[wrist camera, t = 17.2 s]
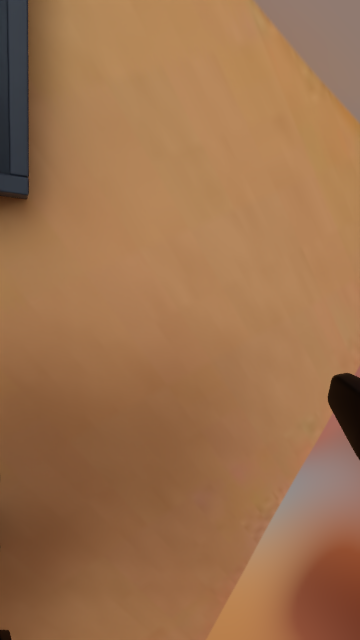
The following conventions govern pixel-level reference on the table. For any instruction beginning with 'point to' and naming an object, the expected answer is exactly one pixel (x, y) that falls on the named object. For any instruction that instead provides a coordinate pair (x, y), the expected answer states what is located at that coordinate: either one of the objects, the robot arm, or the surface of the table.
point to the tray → (14, 99)
